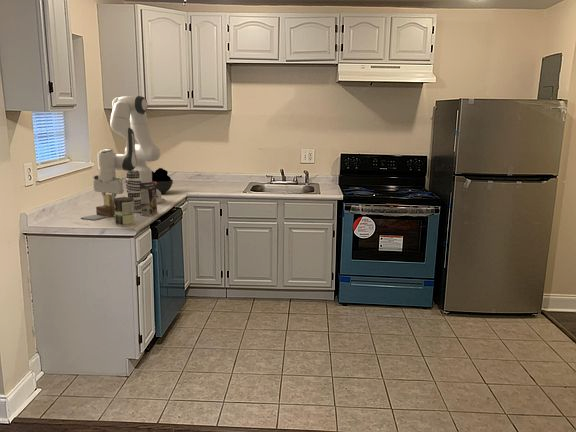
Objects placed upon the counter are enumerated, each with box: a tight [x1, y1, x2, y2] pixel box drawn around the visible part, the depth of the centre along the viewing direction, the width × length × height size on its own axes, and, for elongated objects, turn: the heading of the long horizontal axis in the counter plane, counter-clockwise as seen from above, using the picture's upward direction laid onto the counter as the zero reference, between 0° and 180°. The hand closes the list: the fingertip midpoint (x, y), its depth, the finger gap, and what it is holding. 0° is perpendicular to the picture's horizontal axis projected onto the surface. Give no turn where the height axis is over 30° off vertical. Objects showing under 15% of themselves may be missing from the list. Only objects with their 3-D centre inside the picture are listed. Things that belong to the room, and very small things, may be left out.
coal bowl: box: [151, 167, 174, 194], centre depth 377 cm, size 20×20×19 cm
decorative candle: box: [125, 169, 141, 213], centre depth 312 cm, size 9×9×25 cm
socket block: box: [95, 204, 115, 218], centre depth 302 cm, size 11×11×5 cm
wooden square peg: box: [102, 193, 114, 207], centre depth 301 cm, size 4×4×12 cm
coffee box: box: [140, 187, 158, 217], centre depth 303 cm, size 9×6×16 cm
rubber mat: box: [80, 214, 108, 222], centre depth 292 cm, size 10×10×1 cm
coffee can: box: [114, 196, 136, 227], centre depth 277 cm, size 10×10×14 cm
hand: (109, 200), depth 301 cm, fingers closed on wooden square peg, 4 cm apart
